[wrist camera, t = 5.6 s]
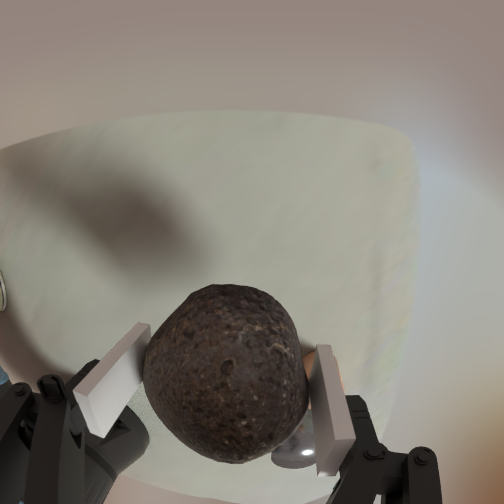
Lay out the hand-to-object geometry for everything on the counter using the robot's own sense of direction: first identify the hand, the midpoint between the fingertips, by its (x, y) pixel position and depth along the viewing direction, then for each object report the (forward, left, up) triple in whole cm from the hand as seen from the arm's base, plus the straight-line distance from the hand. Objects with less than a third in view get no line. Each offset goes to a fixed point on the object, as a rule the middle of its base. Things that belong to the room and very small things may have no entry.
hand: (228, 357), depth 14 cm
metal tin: (+6, -16, -11) cm, 20 cm away
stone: (0, 0, -1) cm, 1 cm away
